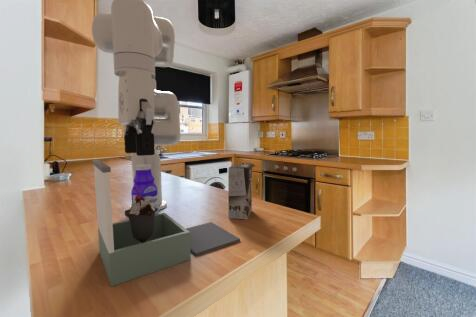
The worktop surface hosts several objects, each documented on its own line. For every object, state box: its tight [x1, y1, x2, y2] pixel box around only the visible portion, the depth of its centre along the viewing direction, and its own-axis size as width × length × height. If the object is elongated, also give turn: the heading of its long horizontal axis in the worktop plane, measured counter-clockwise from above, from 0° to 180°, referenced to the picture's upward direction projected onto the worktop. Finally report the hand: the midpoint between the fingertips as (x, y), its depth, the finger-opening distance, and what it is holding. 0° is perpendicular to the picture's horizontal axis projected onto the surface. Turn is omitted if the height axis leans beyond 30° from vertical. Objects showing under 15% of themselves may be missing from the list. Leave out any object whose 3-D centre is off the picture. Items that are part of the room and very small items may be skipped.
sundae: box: [124, 187, 159, 243], centre depth 51 cm, size 7×7×15 cm
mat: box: [185, 221, 241, 257], centre depth 61 cm, size 14×12×1 cm
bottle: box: [130, 164, 160, 215], centre depth 70 cm, size 7×6×17 cm
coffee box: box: [227, 163, 253, 220], centre depth 77 cm, size 9×6×16 cm
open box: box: [91, 159, 192, 287], centre depth 51 cm, size 15×15×21 cm
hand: (138, 153), depth 49 cm, fingers open, 9 cm apart
